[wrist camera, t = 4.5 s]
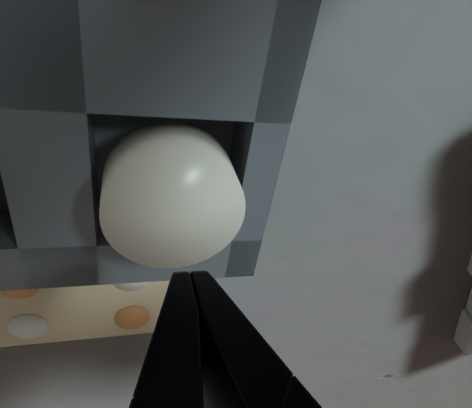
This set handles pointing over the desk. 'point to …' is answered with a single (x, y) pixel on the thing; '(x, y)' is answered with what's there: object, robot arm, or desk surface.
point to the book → (465, 323)
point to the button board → (135, 118)
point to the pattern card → (79, 312)
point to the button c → (170, 196)
